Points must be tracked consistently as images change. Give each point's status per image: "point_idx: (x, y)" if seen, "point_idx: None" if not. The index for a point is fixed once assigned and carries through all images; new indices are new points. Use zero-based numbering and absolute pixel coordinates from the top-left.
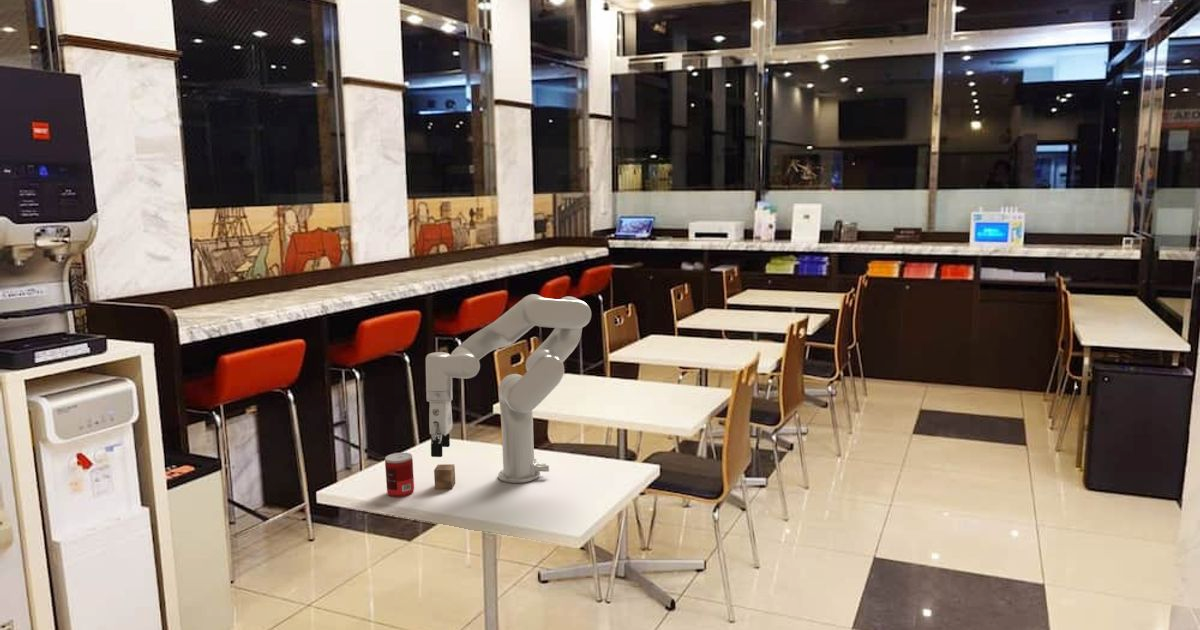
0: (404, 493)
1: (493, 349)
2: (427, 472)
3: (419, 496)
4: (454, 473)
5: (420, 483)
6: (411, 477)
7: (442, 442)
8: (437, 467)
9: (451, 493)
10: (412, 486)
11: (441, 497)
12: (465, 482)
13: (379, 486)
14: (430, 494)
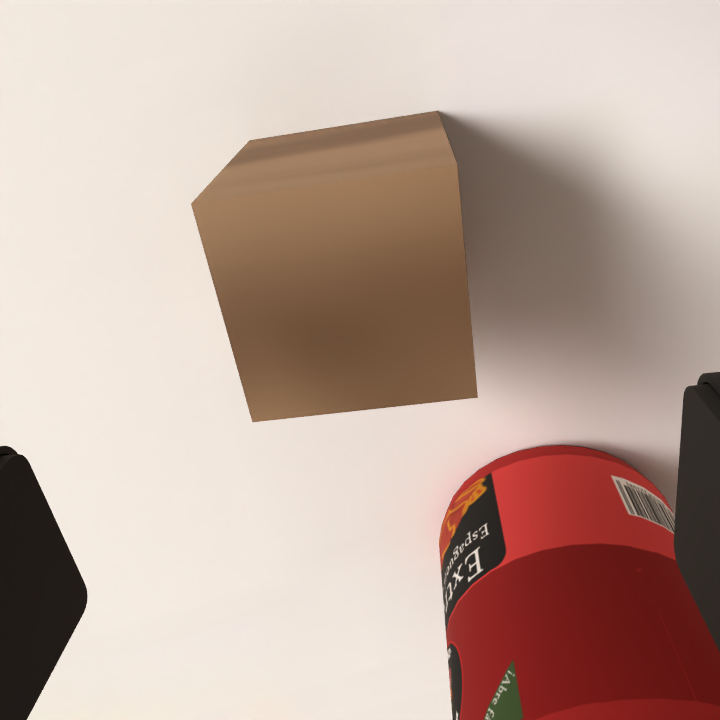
0: (659, 491)
1: None
2: (49, 493)
3: (646, 362)
4: (249, 166)
5: (316, 460)
6: (623, 549)
7: (24, 616)
8: (367, 390)
9: (570, 64)
10: (586, 479)
11: (694, 136)
12: (192, 26)
13: (421, 679)
14: (595, 283)
